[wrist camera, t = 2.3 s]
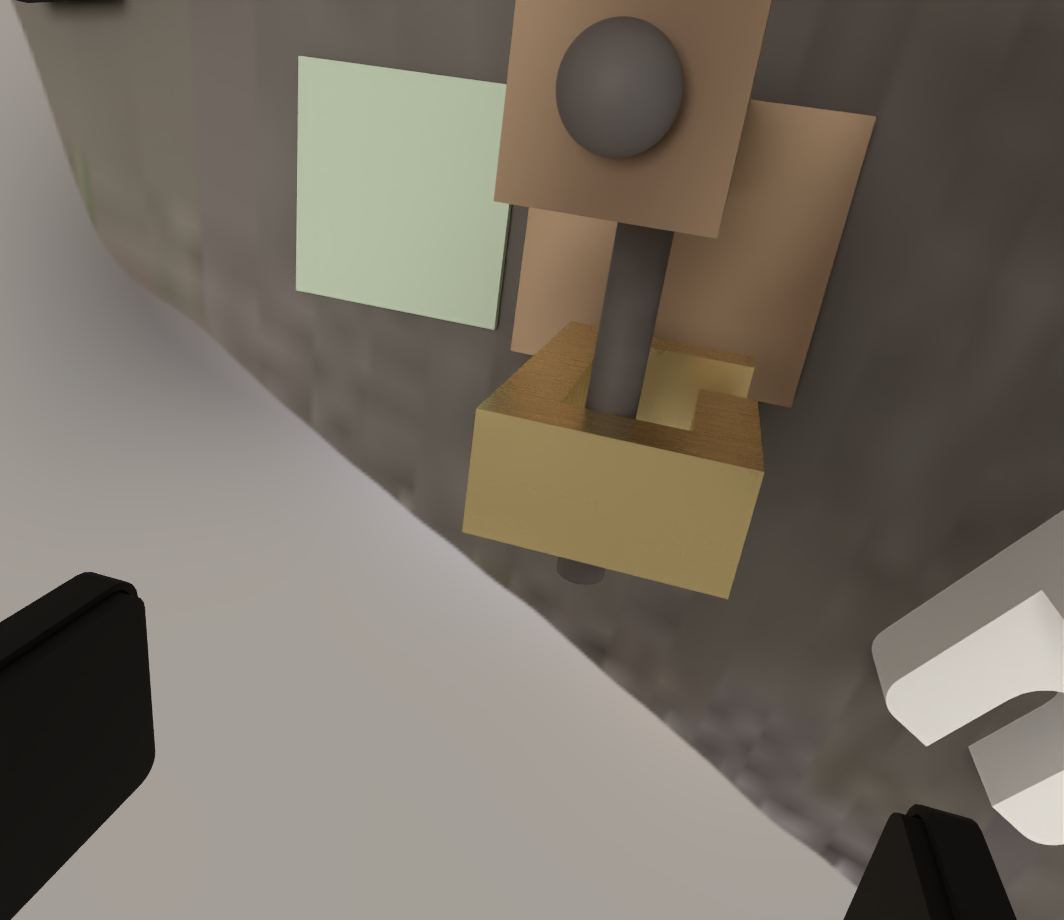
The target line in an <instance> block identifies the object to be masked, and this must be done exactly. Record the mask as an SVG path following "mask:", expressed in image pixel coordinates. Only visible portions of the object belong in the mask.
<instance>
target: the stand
mask: <svg viewBox="0 0 1064 920" xmlns="http://www.w3.org/2000/svg"><path fill="white" fill-rule="evenodd" d="M771 4H772V0H516V4H515V13H514V22H513V31H512V40H511V49H510V58H509V67H508V76H507V85H506V94H505V103H504V112H503V121H502V130H501V139H500V148H499V157H498V166H497V175H496V184H495V193H494V201H495V202H501V203H507V204H513V205H519V206H525V207H529V213H528V220H527V228H526V236H525V243H524V251H523V259H522V267H521V274H520V282H519V290H518V297H517V305H516V313H515V320H514V328H513V336H512V344H511V351H515V352H519V353H524V354H529V355H535V354H536V353H537V352H538V351H539V350H540V349H541V348H542V347H543V346H544V345H546V344H547V343H548V342H549V341H550V340H551V339H552V338H553V337H554V336H555V335H556V334H557V333H559V332H560V331H561V330H562V329H563V328H564V327H565V326H566V325H567V324H568V323H569V322H570V321H574V322H579V323H584V324H589V325H595V326H599V331H598V336H597V342H596V348H595V353H594V359H593V365H592V370H591V376H590V382H589V387H588V393H587V399H586V404H585V408H586V409H591V410H595V411H600V412H605V413H609V414H614V415H619V416H623V417H628V418H633V419H636V415H637V410H638V406H639V401H640V396H641V391H642V386H643V381H644V377H645V372H646V367H647V362H648V357H649V352H650V347H651V343H652V338H653V337H656V338H661V339H667V340H672V341H677V342H682V343H687V344H692V345H698V346H703V347H708V348H713V349H718V350H723V351H728V352H734V353H739V354H744V355H749V356H753V357H754V367H755V368H754V372H753V375H752V379H751V383H750V387H749V390H748V394H747V398H748V399H753V400H758V401H759V402H764V403H769V404H774V405H779V406H783V407H788V408H791V406H792V402H793V399H794V396H795V392H796V389H797V385H798V382H799V379H800V375H801V372H802V368H803V365H804V362H805V358H806V355H807V351H808V348H809V345H810V341H811V338H812V334H813V331H814V328H815V324H816V321H817V317H818V314H819V310H820V307H821V304H822V300H823V297H824V293H825V290H826V287H827V283H828V280H829V276H830V273H831V270H832V266H833V263H834V259H835V256H836V253H837V249H838V246H839V242H840V239H841V236H842V232H843V229H844V225H845V222H846V218H847V215H848V212H849V208H850V205H851V201H852V198H853V195H854V191H855V188H856V184H857V181H858V178H859V174H860V171H861V167H862V164H863V161H864V157H865V154H866V150H867V147H868V144H869V140H870V137H871V133H872V130H873V126H874V123H875V120H876V116H869V115H862V114H854V113H847V112H839V111H832V110H824V109H817V108H809V107H802V106H795V105H787V104H780V103H772V102H765V101H757V100H751V95H752V90H753V86H754V81H755V77H756V72H757V68H758V63H759V58H760V54H761V49H762V45H763V40H764V36H765V31H766V26H767V22H768V17H769V13H770V8H771ZM604 570H605V568H602V567H599V566H595V565H591V564H587V563H583V562H579V561H575V560H571V559H567V558H563V557H558V563H557V571H558V573H559V574H560V575H561V576H562V577H563V578H564V579H566V580H568V581H570V582H573V583H577V584H584V585H588V584H595V583H598V582H599V581H601V580H602V578H603V575H604Z"/></svg>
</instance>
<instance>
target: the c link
mask: <svg viewBox="0 0 1064 920" xmlns="http://www.w3.org/2000/svg"><path fill="white" fill-rule="evenodd" d="M598 331H599V326H595V325H589V324H584V323H579V322H574V321H570V322H569V323H568V324H567V325H566V326H565V327H564V328H563V329H562V330H561V331H560V332H559V333H557V334H556V335H555V336H554V337H553V338H552V339H551V340H550V341H549V342H548V343H547V344H546V345H544V346H543V347H542V348H541V349H540V350H539V351H538V352H537V353H536V354H535V355H534V356H533V357H531V358H530V359H529V360H528V361H527V362H526V363H525V364H524V365H523V366H522V367H521V368H520V369H518V370H517V371H516V372H515V373H514V374H513V375H512V376H511V377H510V378H509V379H508V380H507V381H505V382H504V383H503V384H502V385H501V386H500V387H499V388H498V389H497V390H496V391H495V392H494V393H492V394H491V395H490V396H489V397H488V398H487V399H486V400H485V401H484V402H483V403H482V404H481V405H480V406H478V407H477V408H476V416H475V425H474V434H473V442H472V451H471V460H470V468H469V477H468V486H467V495H466V503H465V512H464V521H463V529H462V532H464V533H468V534H472V535H476V536H480V537H484V538H488V539H492V540H496V541H500V542H504V543H508V544H512V545H515V546H519V547H523V548H527V549H531V550H535V551H539V552H543V553H547V554H551V555H555V556H559V557H563V558H567V559H571V560H575V561H579V562H583V563H587V564H591V565H595V566H599V567H602V568H606V569H610V570H614V571H618V572H622V573H626V574H630V575H634V576H638V577H642V578H646V579H650V580H654V581H658V582H662V583H666V584H670V585H674V586H678V587H682V588H686V589H689V590H693V591H697V592H701V593H705V594H709V595H713V596H717V597H721V598H725V599H728V597H729V594H730V590H731V587H732V583H733V580H734V576H735V573H736V570H737V566H738V563H739V559H740V556H741V552H742V549H743V545H744V542H745V538H746V535H747V531H748V528H749V525H750V521H751V518H752V514H753V511H754V507H755V504H756V500H757V497H758V493H759V490H760V486H761V483H762V480H763V476H764V473H765V470H764V460H763V450H762V439H761V429H760V419H759V408H758V400H753V399H748V398H747V394H748V390H749V387H750V383H751V379H752V375H753V372H754V368H755V367H754V357H753V356H749V355H744V354H739V353H734V352H728V351H723V350H718V349H713V348H708V347H703V346H698V345H692V344H687V343H682V342H677V341H672V340H667V339H661V338H656V337H653V338H652V343H651V347H650V352H649V357H648V362H647V367H646V372H645V377H644V381H643V386H642V391H641V396H640V401H639V406H638V410H637V415H636V419H633V418H628V417H623V416H619V415H614V414H609V413H605V412H600V411H595V410H591V409H586V408H585V404H586V399H587V393H588V387H589V382H590V376H591V370H592V365H593V359H594V353H595V348H596V342H597V336H598Z"/></svg>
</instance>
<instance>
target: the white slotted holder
mask: <svg viewBox="0 0 1064 920" xmlns="http://www.w3.org/2000/svg"><path fill="white" fill-rule="evenodd" d="M872 655H873V659H874V662H875V666H876V670H877V673H878V677H879V680H880V684H881V687H882V691H883V694H884V698H885V701H886V705H887V707H888V710H889V711H890V713H891V714H892V715H893V716H894V717H895V718H896V719H897V720H898V721H899V722H900V723H901V724H902V725H904V726H905V727H906V728H907V729H908V730H909V731H910V732H911V733H912V734H913V735H915V736H916V737H917V738H918V739H919V740H920V741H921V742H922V743H923V744H924V745H925V746H928V745H930V744H932V743H934V742H935V741H937V740H939V739H941V738H942V737H944V736H946V735H948V734H949V733H951V732H953V731H955V730H956V729H958V728H960V727H962V726H963V725H965V724H967V723H969V722H970V721H972V720H974V719H976V718H977V717H979V716H981V715H983V714H984V713H986V712H988V711H990V710H991V709H993V708H995V707H997V706H998V705H1000V704H1002V703H1004V702H1005V701H1007V700H1009V699H1011V698H1013V697H1016V696H1018V695H1020V694H1023V693H1028V692H1033V691H1057V692H1058V693H1057V694H1056V695H1055V697H1054V698H1052V699H1051V700H1050V701H1048V702H1047V703H1045V704H1044V705H1042V706H1040V707H1038V708H1037V709H1035V710H1033V711H1031V712H1029V713H1028V714H1026V715H1024V716H1022V717H1020V718H1019V719H1017V720H1015V721H1013V722H1011V723H1010V724H1008V725H1006V726H1004V727H1002V728H1001V729H999V730H997V731H995V732H993V733H992V734H990V735H988V736H986V737H984V738H983V739H981V740H979V741H977V742H975V743H974V744H972V745H970V746H968V748H969V751H970V753H971V755H972V758H973V760H974V763H975V765H976V768H977V770H978V773H979V775H980V778H981V780H982V783H983V785H984V788H985V790H986V793H987V795H988V798H989V800H990V803H991V805H992V807H993V808H994V809H995V810H996V811H998V812H999V813H1000V814H1001V815H1002V816H1003V817H1004V818H1005V819H1006V820H1007V821H1008V822H1010V823H1011V824H1012V825H1013V826H1014V827H1015V828H1016V829H1017V830H1018V831H1019V832H1021V833H1022V834H1023V835H1024V836H1025V837H1027V838H1028V839H1030V840H1032V841H1034V842H1037V843H1041V844H1045V845H1060V844H1064V510H1062V511H1061V512H1060V513H1058V514H1057V515H1055V516H1054V517H1052V518H1051V519H1049V520H1048V521H1046V522H1045V523H1043V524H1042V525H1040V526H1039V527H1037V528H1036V529H1034V530H1033V531H1031V532H1030V533H1028V534H1027V535H1025V536H1024V537H1022V538H1021V539H1019V540H1018V541H1016V542H1015V543H1013V544H1012V545H1010V546H1009V547H1007V548H1006V549H1004V550H1003V551H1001V552H1000V553H998V554H997V555H995V556H994V557H992V558H991V559H989V560H988V561H986V562H985V563H983V564H982V565H980V566H979V567H977V568H976V569H974V570H973V571H971V572H970V573H968V574H967V575H965V576H964V577H962V578H961V579H959V580H958V581H956V582H955V583H953V584H952V585H950V586H949V587H947V588H946V589H944V590H943V591H941V592H940V593H938V594H937V595H935V596H934V597H932V598H931V599H929V600H928V601H926V602H925V603H923V604H922V605H920V606H919V607H917V608H916V609H914V610H913V611H911V612H910V613H908V614H907V615H905V616H904V617H902V618H901V619H899V620H898V621H896V622H895V623H893V624H892V625H890V626H889V627H887V628H886V629H884V630H883V631H882V632H880V633H879V634H878V635H877V636H876V638H875V639H874V641H873V644H872Z"/></svg>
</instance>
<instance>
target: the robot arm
mask: <svg viewBox="0 0 1064 920" xmlns="http://www.w3.org/2000/svg"><path fill="white" fill-rule="evenodd" d="M154 758H155V743H154V729H153V716H152V701H151V686H150V672H149V658H148V644H147V630H146V617H145V606H144V602H143V601H142V600H141V598H138V595H137V591H136V589H135V587H134V586H133V585H132V584H130V583H128V582H125V581H122V580H118V579H114V578H111V577H107V576H103V575H100V574H97V573H93V572H84V573H82V574H79V575H77V576H75V577H74V578H72V579H71V580H69V581H67V582H65V583H64V584H62V585H61V586H59V587H57V588H56V589H54V590H52V591H51V592H49V593H47V594H46V595H44V596H43V597H41V598H39V599H38V600H36V601H34V602H33V603H31V604H29V605H28V606H26V607H25V608H23V609H21V610H20V611H18V612H17V613H15V614H13V615H12V616H10V617H8V618H7V619H5V620H3V621H2V622H0V920H11V919H12V918H13V917H14V916H15V915H16V914H17V912H18V911H19V910H20V909H21V908H22V907H23V906H24V905H25V904H26V903H27V902H28V901H29V900H30V899H31V898H32V897H33V896H34V895H35V894H36V893H37V892H38V891H39V890H40V889H41V888H42V887H43V886H44V884H45V883H46V882H47V881H48V880H49V879H50V878H51V877H52V876H53V875H54V874H55V873H56V872H57V871H58V870H59V869H60V868H61V867H62V866H63V865H64V864H65V862H67V861H68V860H69V858H70V857H71V856H72V855H73V854H74V853H75V852H76V851H77V850H78V849H79V848H80V847H81V846H82V845H83V844H84V843H85V842H86V841H87V840H88V839H89V838H90V837H91V836H92V834H94V833H95V831H96V830H97V829H98V828H99V827H100V826H101V825H102V824H103V823H104V822H105V821H106V820H107V819H108V818H109V817H110V816H111V815H112V814H113V813H114V812H115V811H116V810H117V809H118V808H119V806H120V805H121V804H122V803H123V802H124V801H125V800H126V799H127V798H128V797H129V796H130V795H131V794H132V793H133V792H134V791H135V790H136V789H137V788H138V787H139V786H140V785H141V784H142V782H143V781H144V780H145V779H146V777H147V775H148V774H149V772H150V770H151V768H152V765H153V762H154ZM844 920H1017V919H1016V917H1015V914H1014V912H1013V909H1012V907H1011V904H1010V902H1009V899H1008V897H1007V894H1006V892H1005V889H1004V886H1003V884H1002V881H1001V879H1000V876H999V874H998V871H997V869H996V866H995V864H994V861H993V859H992V856H991V854H990V851H989V849H988V846H987V844H986V841H985V839H984V836H983V834H982V831H981V830H980V828H979V826H978V824H977V823H976V822H975V821H973V820H972V819H970V818H966V817H962V816H959V815H955V814H952V813H948V812H945V811H941V810H937V809H934V808H930V807H927V806H923V805H919V804H915V805H913V806H912V807H911V808H910V809H909V810H908V812H907V814H906V815H904V814H900V813H895V812H894V813H893V814H892V815H891V816H890V817H889V819H888V821H887V823H886V825H885V827H884V830H883V832H882V834H881V836H880V839H879V841H878V843H877V845H876V848H875V850H874V852H873V854H872V857H871V859H870V861H869V863H868V866H867V868H866V870H865V872H864V875H863V877H862V879H861V881H860V884H859V886H858V888H857V890H856V893H855V895H854V897H853V899H852V902H851V904H850V906H849V908H848V911H847V913H846V915H845V918H844Z"/></svg>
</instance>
